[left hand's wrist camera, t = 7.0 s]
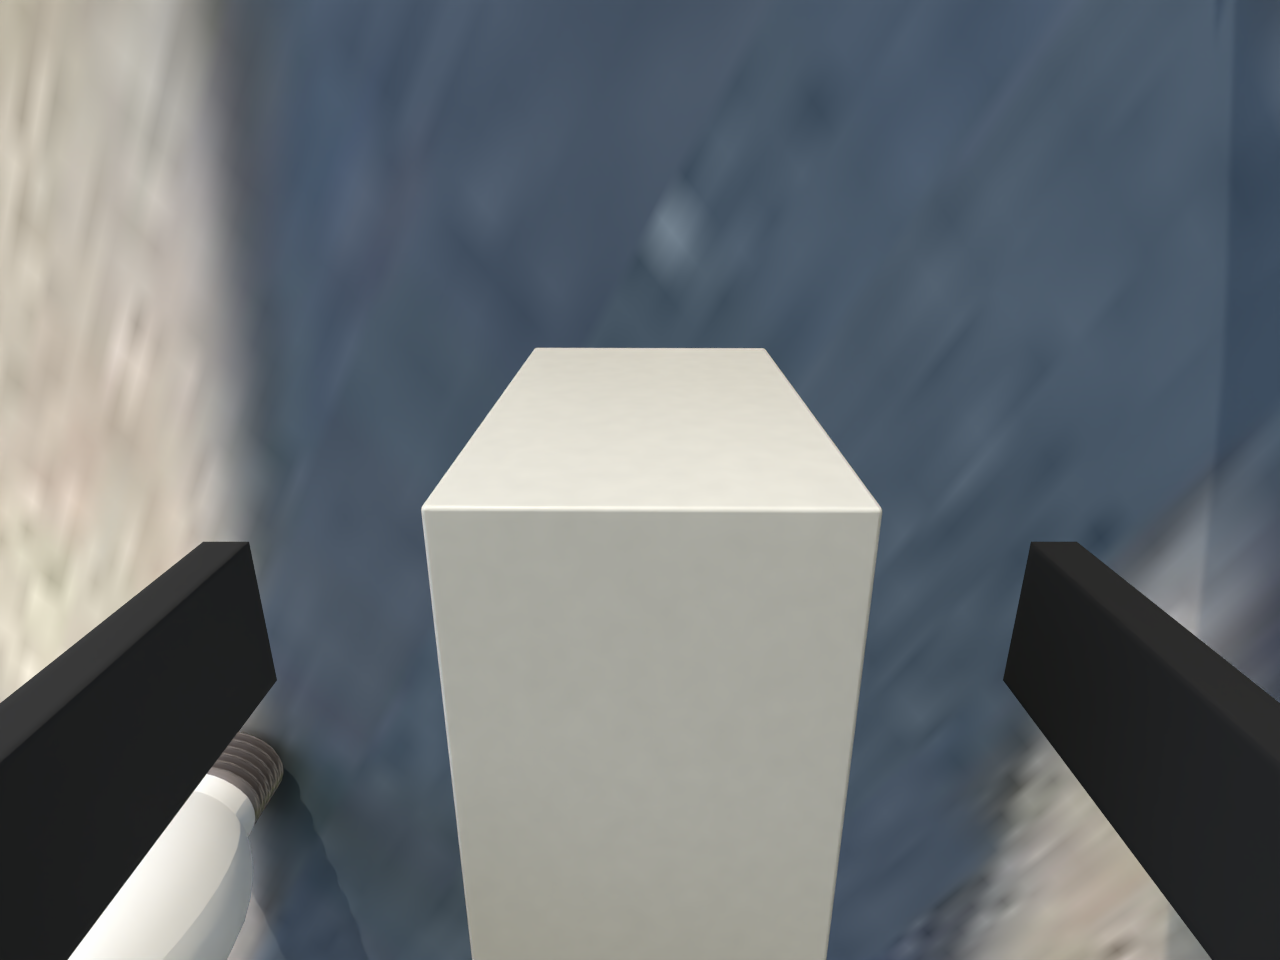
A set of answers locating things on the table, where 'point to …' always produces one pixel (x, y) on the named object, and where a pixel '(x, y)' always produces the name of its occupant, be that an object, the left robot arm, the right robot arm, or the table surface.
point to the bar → (650, 657)
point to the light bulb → (193, 869)
